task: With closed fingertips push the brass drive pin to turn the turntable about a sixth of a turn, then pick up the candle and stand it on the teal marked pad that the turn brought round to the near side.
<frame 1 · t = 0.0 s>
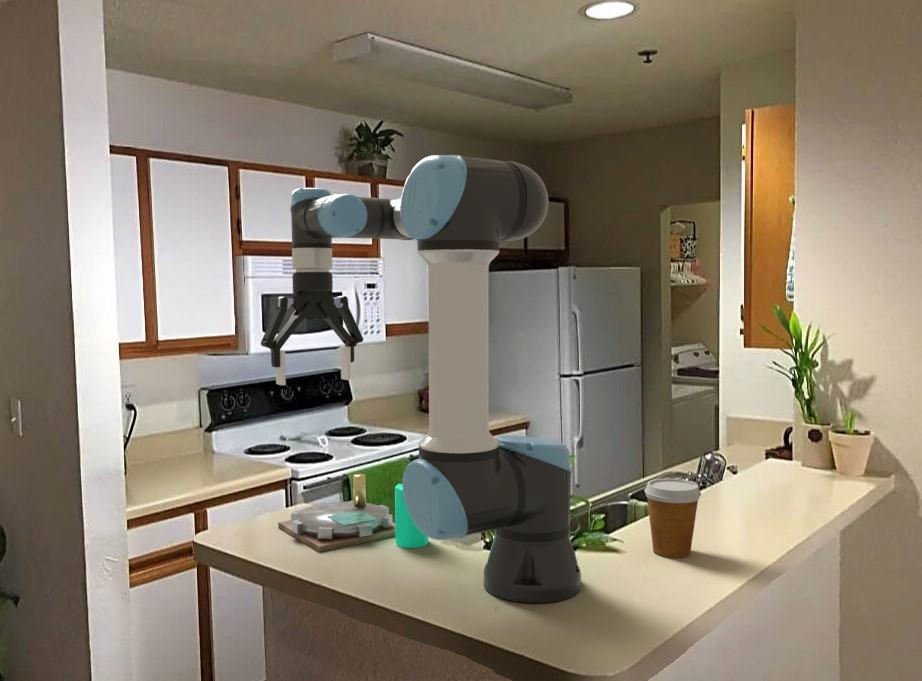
hand: (314, 382, 160), 28 cm above the counter, fingers open, 13 cm apart
candle: (411, 543, 151), on the counter
turntable: (341, 503, 158), point 5 cm above the counter, hinge at 0.0°
base board: (341, 530, 158), on the counter
disposable coffee cup: (671, 553, 145), on the counter
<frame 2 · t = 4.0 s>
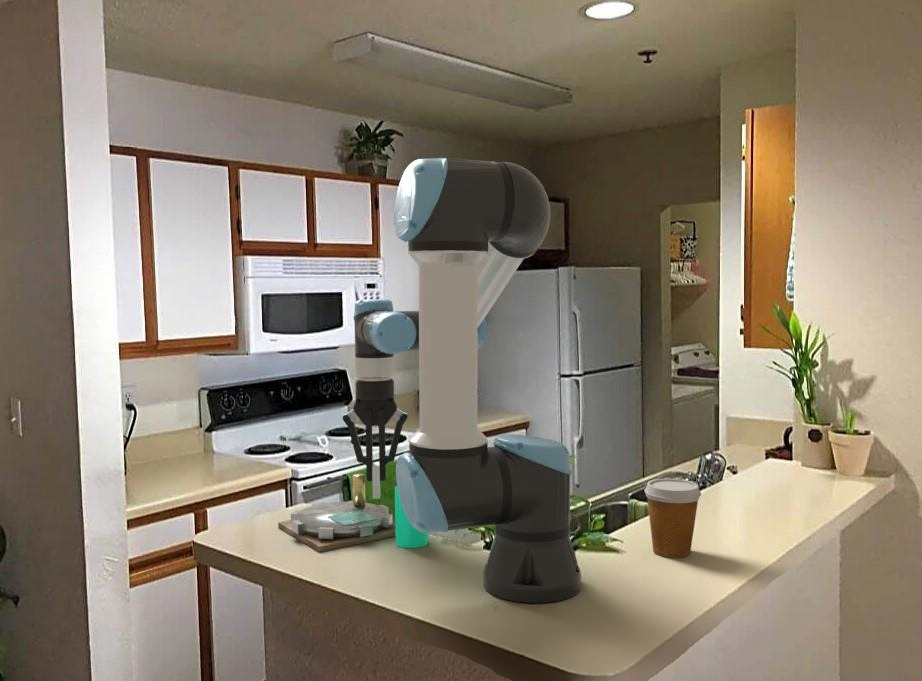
hand: (376, 496, 164), 5 cm above the counter, fingers closed
turntable: (341, 503, 158), point 5 cm above the counter, hinge at 1.0°, touching gripper
everything else where it was.
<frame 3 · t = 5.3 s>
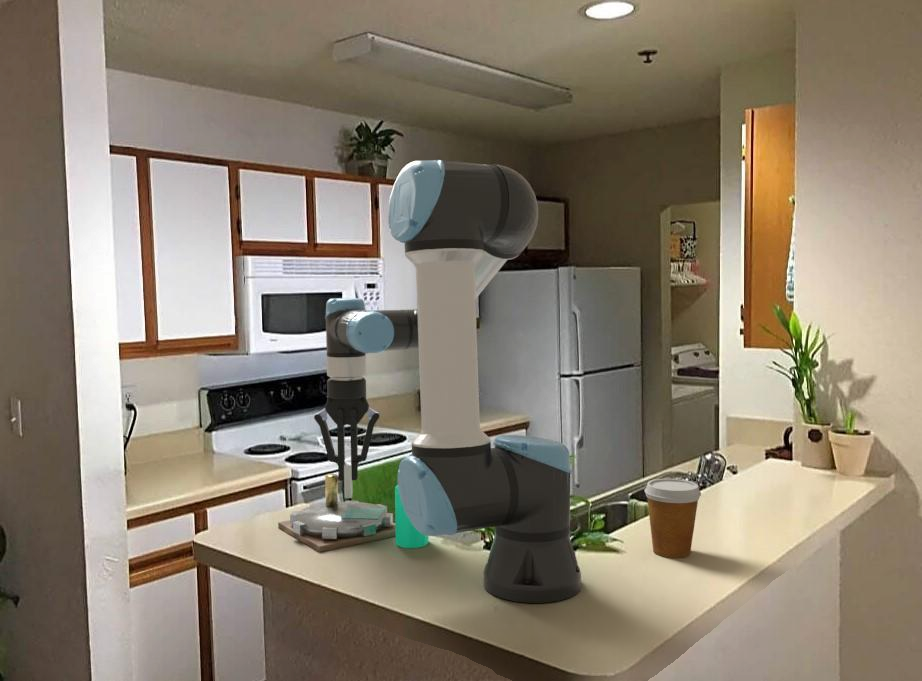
hand: (348, 496, 164), 5 cm above the counter, fingers closed
turntable: (341, 503, 158), point 5 cm above the counter, hinge at 50.0°, touching gripper
everything else where it was.
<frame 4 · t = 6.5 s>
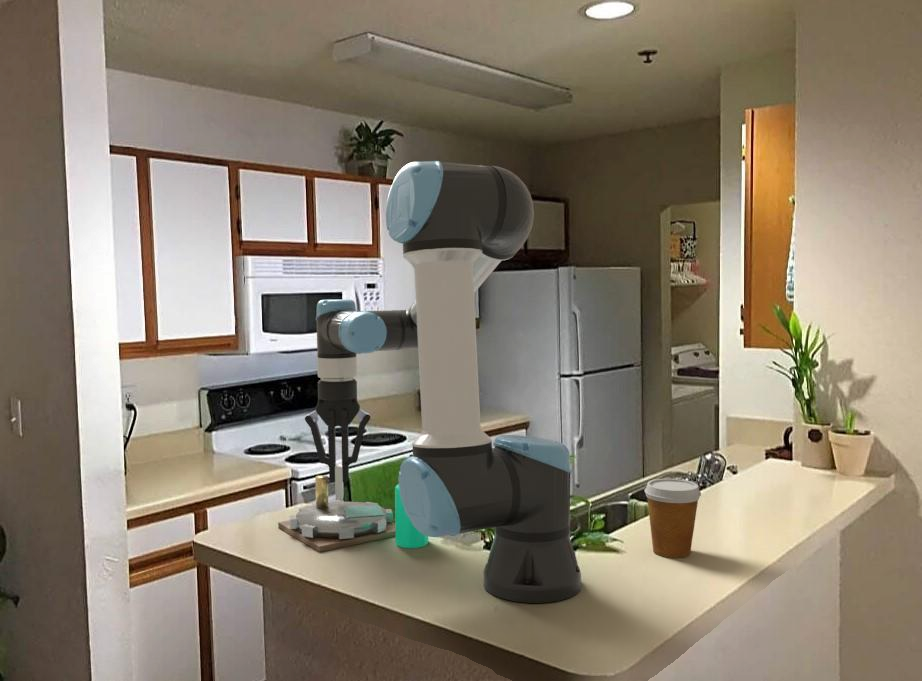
hand: (339, 498, 164), 5 cm above the counter, fingers closed
turntable: (341, 503, 158), point 5 cm above the counter, hinge at 68.3°, touching gripper
everything else where it was.
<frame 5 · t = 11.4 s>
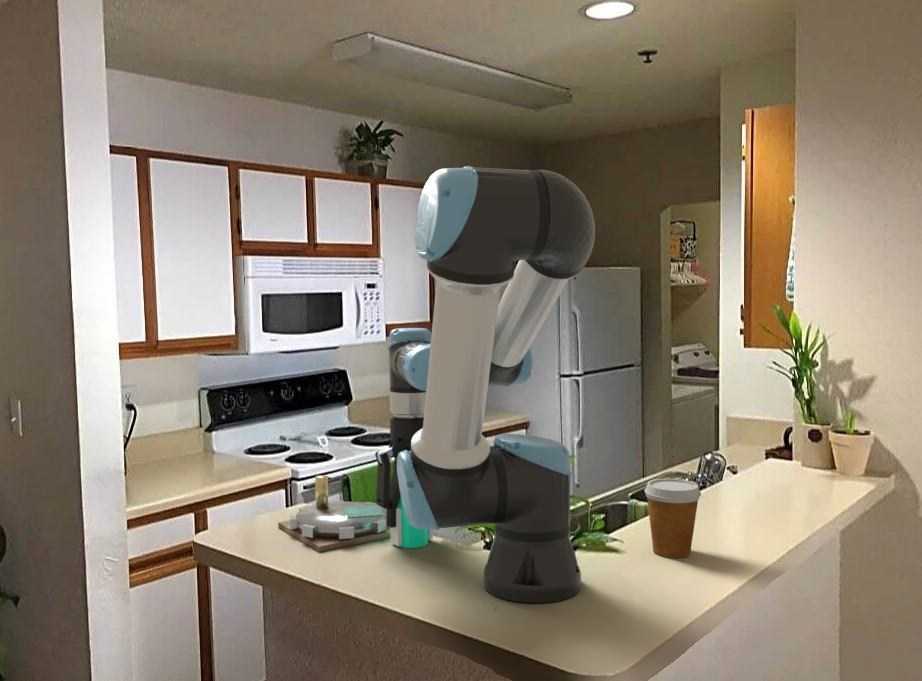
hand: (411, 540, 151), 0 cm above the counter, fingers closed on candle, 6 cm apart
candle: (411, 543, 151), on the counter, touching gripper
turntable: (341, 503, 158), point 5 cm above the counter, hinge at 68.3°
everything else where it was.
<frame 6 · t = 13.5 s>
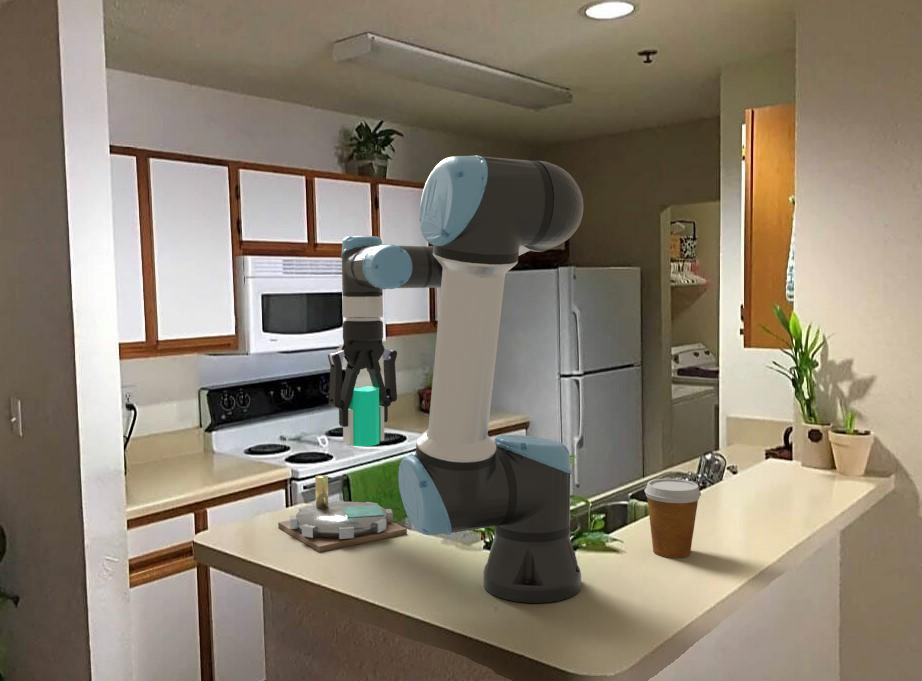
hand: (363, 441, 158), 17 cm above the counter, fingers closed on candle, 6 cm apart
candle: (363, 444, 158), point 17 cm above the counter, touching gripper
everything else where it was.
when the fingers open (5 cm above the counter, at t = 15.9 s): candle drops 1 cm, resting on turntable.
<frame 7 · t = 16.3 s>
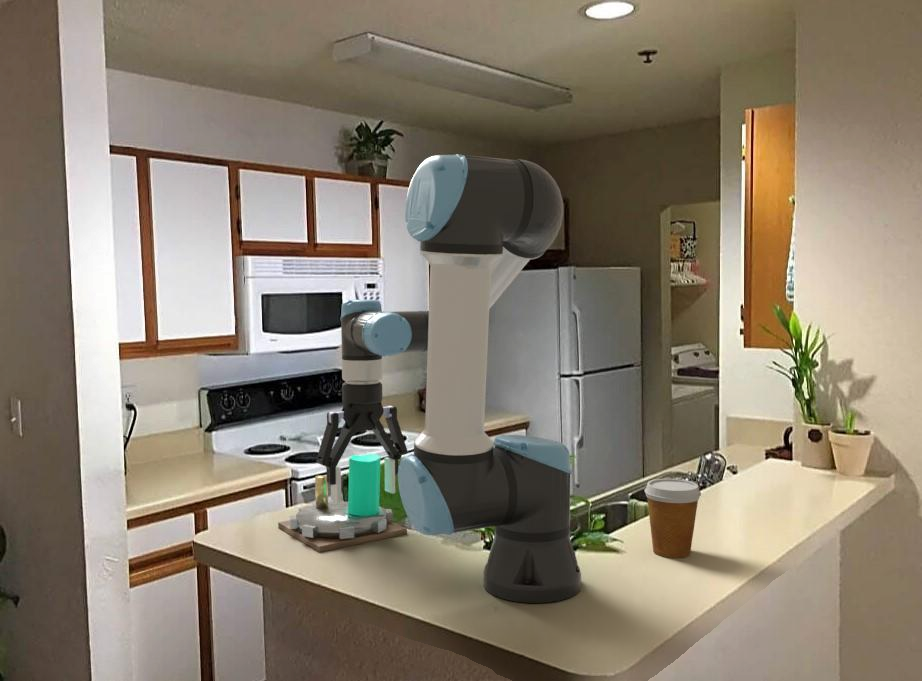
hand: (363, 496, 158), 6 cm above the counter, fingers open, 11 cm apart
candle: (363, 512, 158), point 3 cm above the counter, touching turntable
turntable: (341, 503, 158), point 5 cm above the counter, hinge at 68.7°, touching candle
everything else where it was.
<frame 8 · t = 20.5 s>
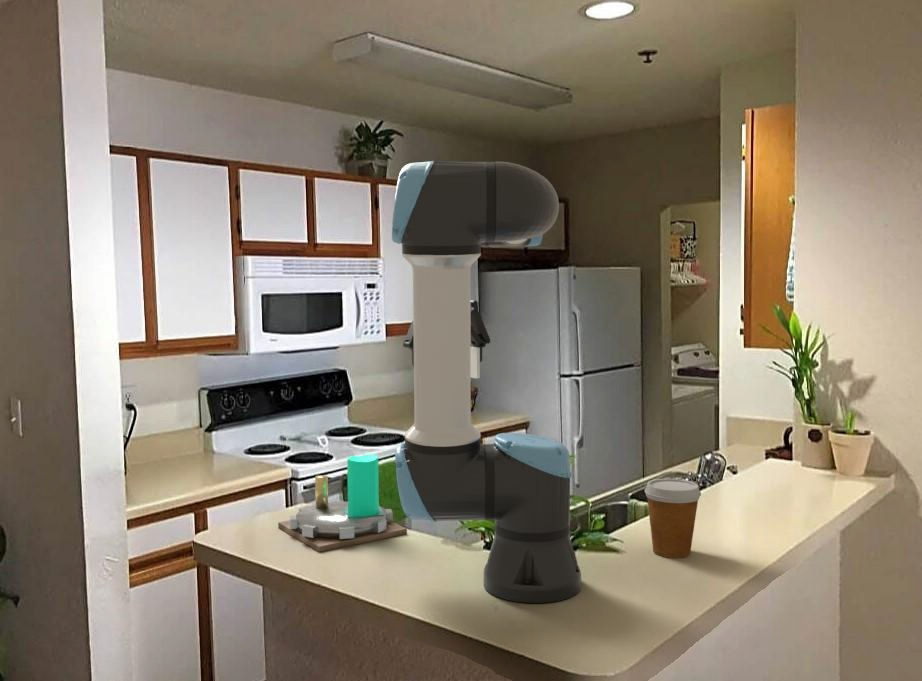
hand: (448, 380, 173), 27 cm above the counter, fingers open, 13 cm apart
nothing on the counter moved.
at the end: turntable at +69° (first picture: +0°); candle inside the target area on the turntable (4.2 cm from its centre), point 3.3 cm above the turntable's base; candle tilted 0° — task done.
